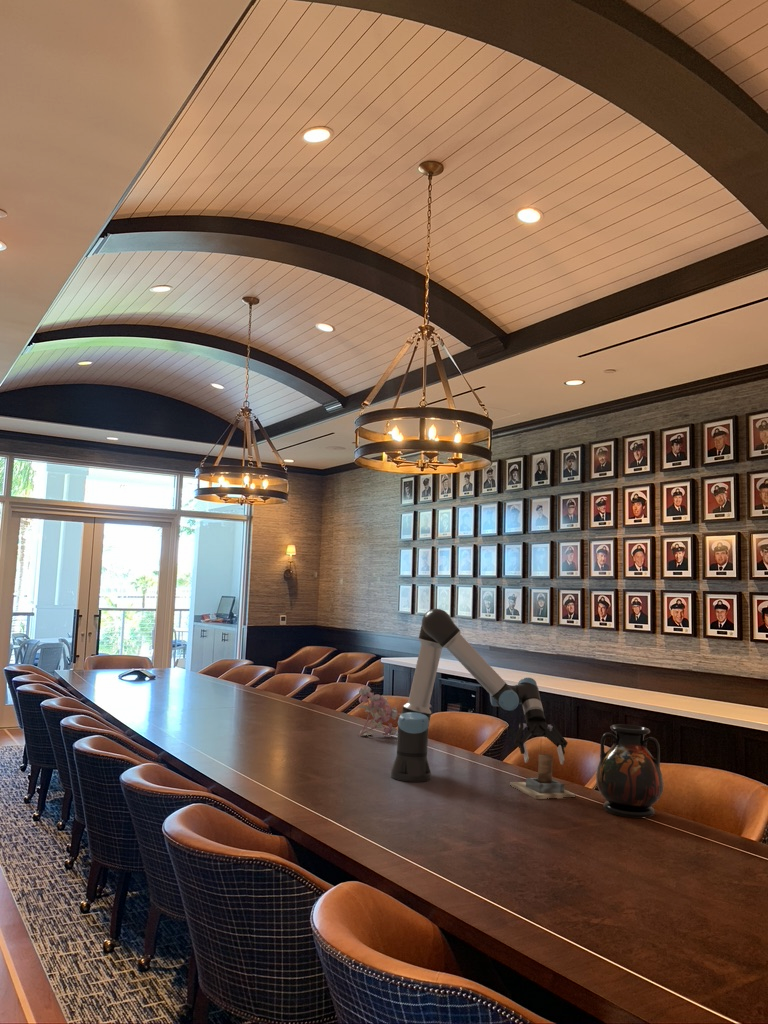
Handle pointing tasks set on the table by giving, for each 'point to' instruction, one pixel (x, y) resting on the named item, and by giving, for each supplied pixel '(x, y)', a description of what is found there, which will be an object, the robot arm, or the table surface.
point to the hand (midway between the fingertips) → (544, 761)
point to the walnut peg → (545, 768)
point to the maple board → (542, 789)
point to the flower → (379, 706)
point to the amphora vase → (629, 773)
